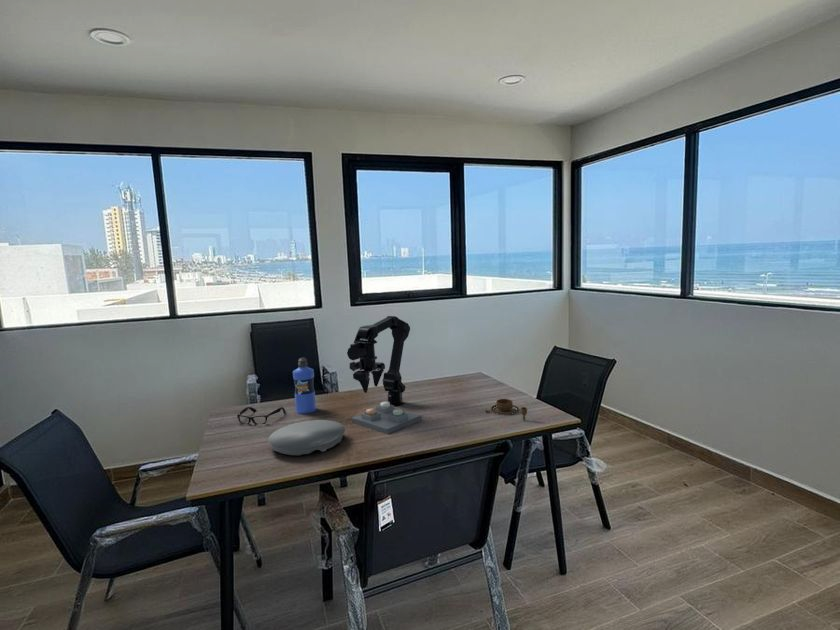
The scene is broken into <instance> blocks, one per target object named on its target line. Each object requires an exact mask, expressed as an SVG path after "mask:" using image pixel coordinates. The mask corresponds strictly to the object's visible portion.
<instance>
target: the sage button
mask: <svg viewBox="0 0 840 630" xmlns="http://www.w3.org/2000/svg"><path fill="white" fill-rule="evenodd" d="M403 410H404V409H402V408H401V409H400V408H396V409H395V410H393V416H396V417H399V416H401V415H403Z"/></svg>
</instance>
